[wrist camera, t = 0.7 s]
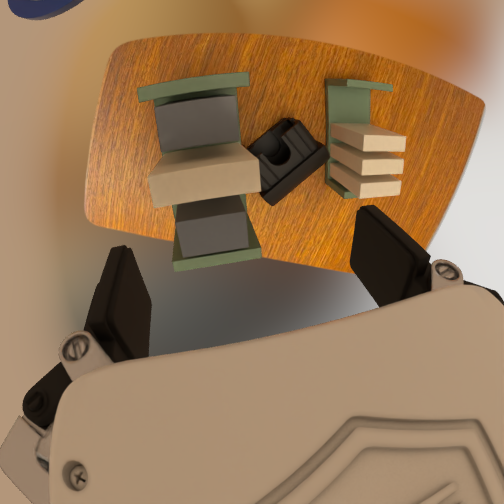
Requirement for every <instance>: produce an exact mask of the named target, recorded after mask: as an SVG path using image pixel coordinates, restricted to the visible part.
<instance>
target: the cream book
mask: <svg viewBox="0 0 504 504" xmlns="http://www.w3.org/2000/svg"><path fill="white" fill-rule="evenodd" d="M148 183H149V188H150V192H151V197H152V202H153V207H154V208H158V207H164V206H169V205H175V204H181V203H187V202H193V201H199V200H205V199H211V198H218V197H225V196H232V195H239V194H246V193H253V192H261V183H260V170H259V160H258V159H257V158H256V157H255V156H254V155H253V154H251V153H250V152H249V151H248V150H247V149H245V148H244V147H243V146H242V145H241V144H239V143H238V142H236V143H228V144H220V145H213V146H206V147H199V148H193V149H187V150H181V151H175V152H170V153H165V154H164V155H163V157H162V158H161V159H160V161H159V162H158V163H157V165H156V166H155V167H154V169H153V170H152V171H151V173H150V174H149V175H148Z"/></svg>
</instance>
